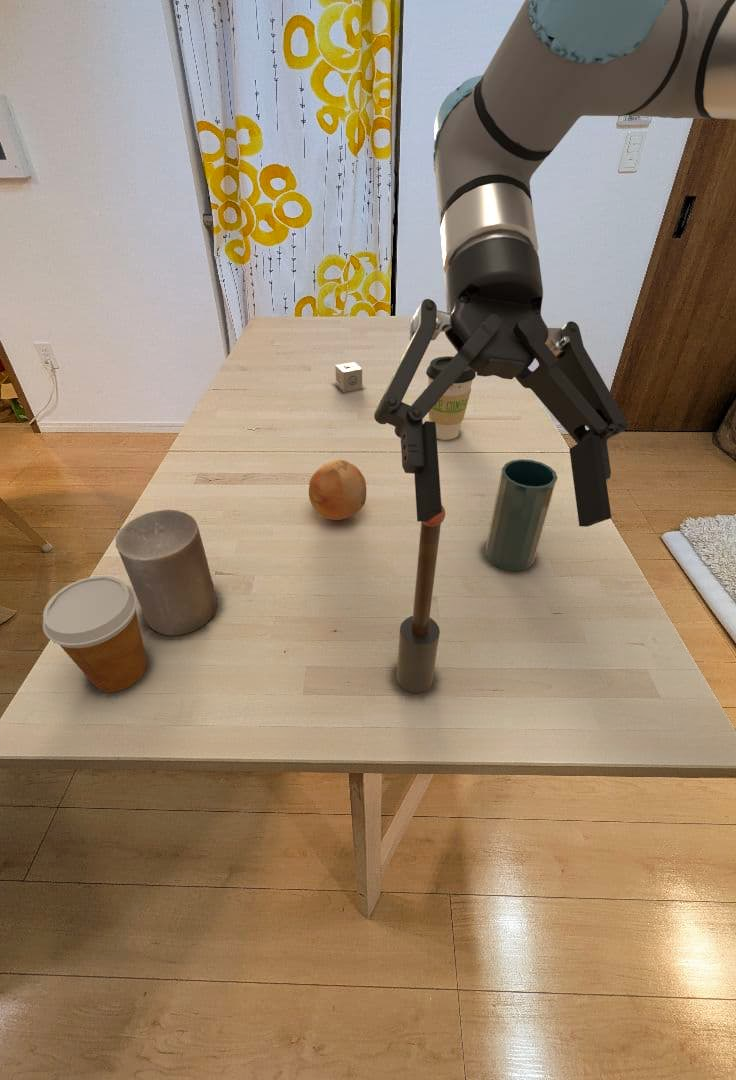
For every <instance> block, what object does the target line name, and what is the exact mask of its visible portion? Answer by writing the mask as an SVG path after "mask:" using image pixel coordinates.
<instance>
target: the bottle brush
mask: <svg viewBox="0 0 736 1080" xmlns="http://www.w3.org/2000/svg"><path fill="white" fill-rule="evenodd" d="M441 506H442V512H441V513H440V514H438V515H437V516H435V517H433V518H432V519H430V520H429V521H427V522H420V532H419V542H418V543H419V544H418V554H417V563H416V564H417V566H416V576H415V577H416V578H415V586H414V588H415V589H414V599H413V610H412V615H410V616H408V617H406V618H404V620H402V622H401V623H400V626H399V635H398V636H399V637H398V651H397V664H396V681H397V684H398V686H399V687H400V688H401V689H402V690H403V691H405V692H407V693H409V694H414V695H415V694H416V695H417V694H422V693H425V692H427V691H428V690H429V689H430V688H431V687H432V686H433V682H434V675H435V668H436V662H437V654H438V647H439V641H440V640H439V639H440V633H441V631H440V627H439V625H438V623H437V622H436V621H435V620H434V619H433V618H431V617H430V616H431V608H432V600H433V593H434V584H435V583H434V582H435V576H436V566H437V559H438V550H439V542H440V541H439V540H440V533H441V525H442V523H443V522H444V520H445V518H446V510H445V506H444V505H443V504H442V503H441Z"/></svg>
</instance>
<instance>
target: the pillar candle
mask: <svg viewBox="0 0 736 1080" xmlns="http://www.w3.org/2000/svg"><path fill="white" fill-rule="evenodd" d="M114 541H115V548H116V549H117V551H118V554H119V557H120V559H121V561H122V564H123V567H124V569H125V571H126V573H127V576H128V579H129V581H130V584H131V586H132V589H133V591H134V593H135V595H136V598H137V602H138V604H139V606H140V609H141V611H142V613H143V616H144V618H145V621H146V623H147V625H148V626H149V627H150V628H151V629H152V630H153V631H155V632H156V633H158V634H160V635H164V636H170V637H171V636H176V637H177V636H183V635H186V634H190V633H193V632H195V631H197V630H199V629H201V628H202V627H204V626H205V625H206V624H208V622H209V621H210V620H212V618H213V617H214V616H215V615H216V613H217V610H218V607H219V600H218V597H217V595H216V591H215V585H214V581H213V578H212V575H211V572H210V567H209V563H208V558H207V554H206V550H205V547H204V544H203V540H202V535H201V532H200V528H199V525H198V523H197V521H196V519H195V518H194V517H193V516H192V515H191V514H188V513H187V512H185V511H180V510H177V509H160V510H154V511H151V512H147V513H144V514H142V515H139V516H137V517H135V518H133V519H132V520H130V521H128V522H127V523H126V524H125V525H124V526H123V527H121V528H120V529H119V530H118V532H117V534H116V535H115V540H114Z"/></svg>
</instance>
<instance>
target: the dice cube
mask: <svg viewBox="0 0 736 1080" xmlns="http://www.w3.org/2000/svg"><path fill="white" fill-rule="evenodd" d="M334 369H335V385H336V386H337V387H338V388H339V389H340V390H341V392H343V393H345V392H346V393H348V392H352V391H357V390H362V389H363V368H362V367H360V366H359V365H358V364H357V363H356V362H354V361H352V362H346V363H345V362H344V363H340V364H335V368H334ZM336 381H337V382H338V383H339V384H338V383H337V382H336Z"/></svg>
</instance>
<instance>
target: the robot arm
mask: <svg viewBox="0 0 736 1080" xmlns="http://www.w3.org/2000/svg"><path fill="white" fill-rule="evenodd" d="M583 116H584V117H585V116H586V117H624V116H625V117H626V116H627V117H628V116H629V117H654V118H667V119H699V120H700V119H701V120H709V119H715V120H716V119H717V120H736V0H524V2H522V5H521V7H520V9H519V10H518V12H517V13H516V16H515V18H514V20H513V21H512V23H511V25H510V26H509V28H508V30H507V32H506V33H505V35H504V37H503V39H502V41H501V43H500V44H499V45H498V48H497V49H496V51H495V53H494V55H493V57H492V58H491V60H490V62H489V64H488V65H487V67H486V69H485V70H484V72H483V74H481V75H476V76H472V77H470V78H467V79H466V80H465V81H463V82H462V83H461V85H460V86H458V87H456V88H455V89H454V90H453V91H450V93H449V94H447V96H446V97H445V98H444V99H443V101H442V103H441V105H440V107H439V109H438V111H437V114H436V117H435V121H434V129H433V132H434V136H433V138H434V143H433V151H434V152H433V154H432V157H433V163H432V164H433V170H434V175H435V183H436V184H435V185H436V193H437V194H436V195H437V204H438V214H439V225H440V238H441V251H442V262H443V270H444V292H445V302H446V303H445V304H446V312H445V311H442V310H438V309H437V304H436V302H435V301H434V300H433V299H430V298H425V299H423V300H422V301H421V303H420V305H419V307H418V308H417V310H416V312H415V314H414V315H413V317H412V319H411V321H410V326H409V327H410V328H409V343H408V344H407V346H406V349H405V351H404V353H403V355H402V357H401V358H400V361H399V362H398V365H397V367H396V369H395V371H394V373H393V375H392V376H391V379H390V381H389V383H388V384H387V387H386V388H385V390H384V393H383V395H382V396H381V397H382V398H381V399H380V401H379V403H378V405H377V406H376V409H375V411H374V413H373V417H374V420H375V421H376V422H377V423H378V424H380V425H386V424H388V425H391V426H393V427H394V434H395V435H396V436H397V437H398V438H399V439H400V449H401V451H400V452H401V467H402V469H403V471H404V473H405V474H413V476H414V487H415V488H414V490H415V492H414V493H415V506H416V509H415V510H416V521H417V522H419V523H421V522H427V521H429V520H430V519H432V518H433V517H435V516H437V515H438V514H440V513H441V512H442V506H443V505H442V506H441V504H442V493H441V479H440V465H439V464H440V463H439V452H438V451H439V450H438V438H437V435H436V422H430V420H429V421H428V420H427V421H424V422H423V419H424V418H425V417H426V416H427V415H428V414H429V411H430V410H431V409H432V407H433V406H434V405H435V404H436V403H437V402H438V400H439V399H440V398H441V397H442V396H443V395H444V393H445V392H446V391H447V390H448V389H449V387H450V386H451V385H452V384H453V383H454V382H455V380H456V379H457V378H458V377H459V376H460V375H461V373H462V372H463V371H464V370H465V369H466V368H467V366H469V367H470V368H471V369H472V370H473V371H475V372H476V377H477V376H478V377H492V376H496V377H498V378H501V379H504V380H513V379H514V378H515V379H516V380H517V382H518V383H519V384H520V385H521V386H522V387H523V388H525V389H530V390H531V391H532V392H533V393H534V394H535V396H536V397H537V398H538V399H539V401H541V403H542V404H543V405H544V406H545V407H546V409H547V410H548V411H549V412H550V413H551V415H552V417H554V418H555V419H556V420H557V422H558V423H559V424H560V425H561V426H562V427H563V429H564V430H565V432H567V433H568V435H569V436H570V437H571V438H572V440H573V441H574V442H575V443H576V444H574V445H573V446H571V447H569V450H568V451H569V457H570V464H571V465H570V466H571V472H572V479H573V480H572V481H573V489H574V497H575V503H576V512H577V520H578V527H583V528H584V527H586V528H587V527H591V526H593V525H596V524H599V523H601V522H604V521H607V520H609V519H610V520H611V519H612V511H611V504H610V498H609V489H608V484H607V480H610V478H611V474H612V469H611V465H610V464H611V463H610V455H609V449H608V440H610V439H612V438H614V437H615V436H618V435H619V434H620V433H623V432H625V431H626V430H627V429H628V421H627V420H626V418H625V416H624V414H623V412H622V411H621V409H620V407H619V406H618V403H617V402H616V400H615V398H614V397H613V395H612V393H611V391H610V390H609V388H608V387H607V384H606V383H605V381H604V379H603V378H602V376H601V374H600V372H599V370H598V368H597V367H596V365H595V364H594V362H593V360H592V359H591V357H590V354H589V353H588V351H587V350H586V348H585V346H584V341H583V338H582V334H581V329H580V326H579V325H578V324H577V323H576V322H575V321H572V320H570V321H568V322H567V323H565V324H564V326H563V327H548V326H547V324H546V322H545V321H544V319H543V317H542V306H543V305H542V304H543V299H544V287H543V280H542V272H541V264H540V263H541V262H540V257H539V254H538V251H539V243H538V235H537V228H536V222H535V214H534V207H533V199H532V193H531V192H532V191H531V183H530V182H531V179H532V176H533V175H534V173H535V172H536V171H537V170H538V169H539V168H540V166H541V165H542V164H543V162H545V160H546V159H547V157H548V156H549V157H550V155H551V154H552V153H553V152H554V150H555V149H556V147H557V146H558V145H559V144H560V143H561V141H562V140H563V139H564V138H565V136H566V135H567V134H568V133H569V131H570V130H571V129H572V127H573V126H574V125H575V124H576V122H577V121H578V120H579V119H580V118H582V117H583ZM441 333H444V335H445V337H446V338H447V340H448V341H449V342H450V344H451V345H452V347H453V348H454V349H455V350H456V352H457V353H455V355H454V356H453V358H452V360H451V361H450V362H449V363H448V364H447V365H446V366H445V368H444V369H443V370H442V371H441V372H440V373H439V374H438V376H437V377H436V378H435V379H434V380H433V381H432V382H431V384H430V385H429V386H428V385H427V387H426V388H425V389H424V390H423V392H421V394H420V395H419V396H418V397H417V399H416V400H415V401H414V402H413V403H412V404H411V405H410V404H407V403H405V402H403V400H404V398H405V396H406V393H407V391H408V389H409V387H410V385H411V383H412V381H413V379H414V376H415V374H416V372H417V371H418V368H419V366H420V364H421V362H422V360H423V358H424V356H425V354H426V352H427V349H428V347H429V345H430V343H431V341H435V340H437V338H438V337H439V335H440V334H441ZM535 360H536V362H537V363H538V366H537V367H536V368H535V369H534V370H530V368H529V367H530V366H531V365H532V364H533V362H534V361H535ZM586 427H587V429H586Z"/></svg>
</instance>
